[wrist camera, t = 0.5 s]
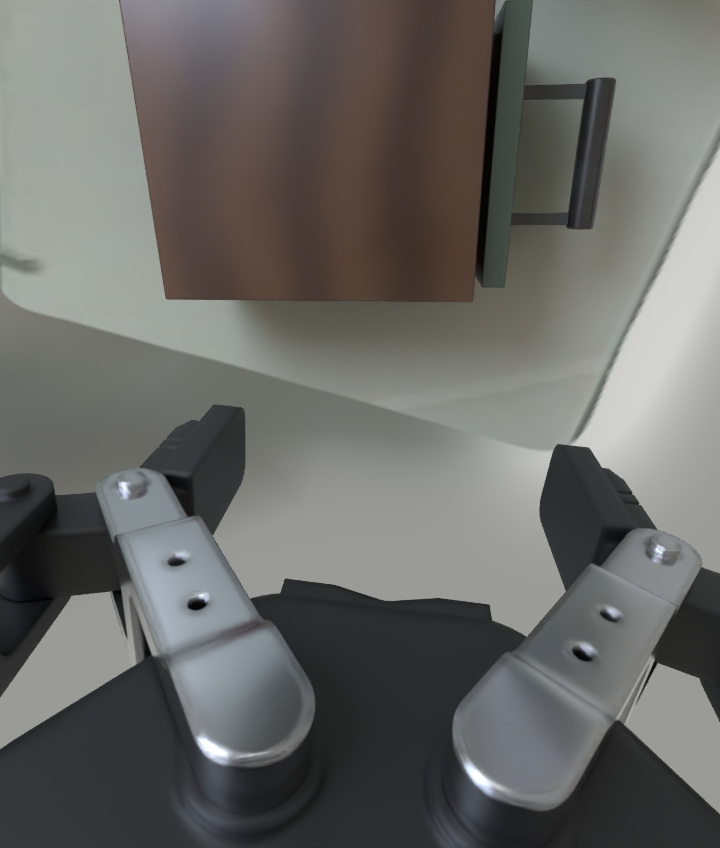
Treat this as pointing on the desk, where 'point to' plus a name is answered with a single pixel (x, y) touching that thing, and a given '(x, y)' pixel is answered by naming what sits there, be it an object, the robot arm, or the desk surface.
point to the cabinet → (313, 145)
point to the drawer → (504, 143)
